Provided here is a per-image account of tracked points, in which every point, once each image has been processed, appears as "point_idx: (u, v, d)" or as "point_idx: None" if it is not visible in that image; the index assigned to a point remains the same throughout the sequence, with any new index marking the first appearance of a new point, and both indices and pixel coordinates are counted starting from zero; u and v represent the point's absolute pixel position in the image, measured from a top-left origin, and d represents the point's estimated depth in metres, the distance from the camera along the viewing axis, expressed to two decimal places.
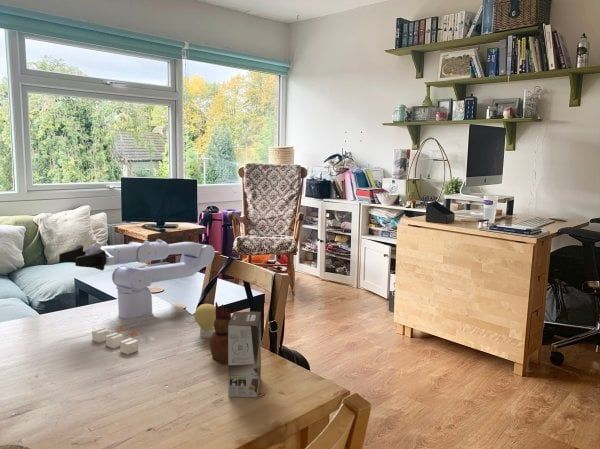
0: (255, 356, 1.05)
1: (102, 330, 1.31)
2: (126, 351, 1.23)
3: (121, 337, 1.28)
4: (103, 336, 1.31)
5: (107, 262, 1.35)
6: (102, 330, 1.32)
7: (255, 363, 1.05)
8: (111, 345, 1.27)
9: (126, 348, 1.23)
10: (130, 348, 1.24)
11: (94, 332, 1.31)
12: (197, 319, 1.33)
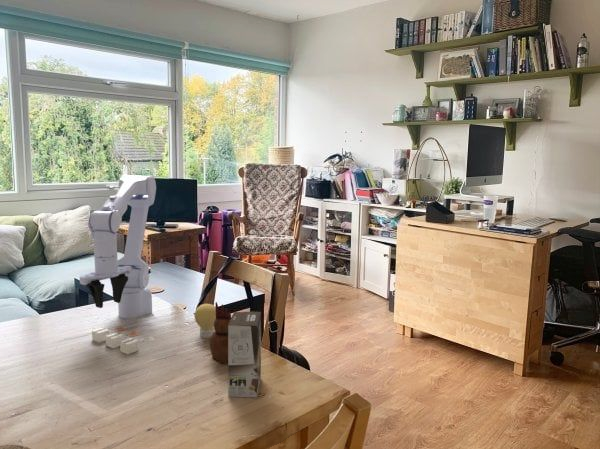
0: (255, 356, 1.05)
1: (102, 330, 1.31)
2: (126, 351, 1.23)
3: (121, 337, 1.28)
4: (103, 336, 1.31)
5: None
6: (102, 330, 1.32)
7: (255, 363, 1.05)
8: (111, 345, 1.27)
9: (126, 348, 1.23)
10: (130, 348, 1.24)
11: (94, 332, 1.31)
12: (197, 319, 1.33)
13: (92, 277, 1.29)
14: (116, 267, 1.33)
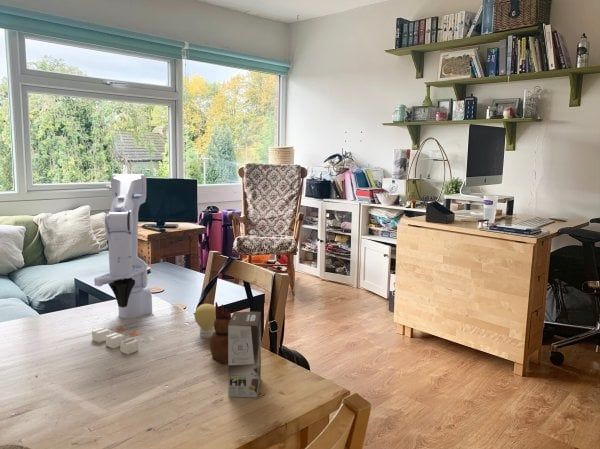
0: (255, 356, 1.05)
1: (102, 330, 1.31)
2: (126, 351, 1.23)
3: (121, 337, 1.28)
4: (103, 336, 1.31)
5: None
6: (102, 330, 1.32)
7: (255, 363, 1.05)
8: (111, 345, 1.27)
9: (126, 348, 1.23)
10: (130, 348, 1.24)
11: (94, 332, 1.31)
12: (197, 319, 1.33)
13: (107, 278, 1.27)
14: (131, 268, 1.31)
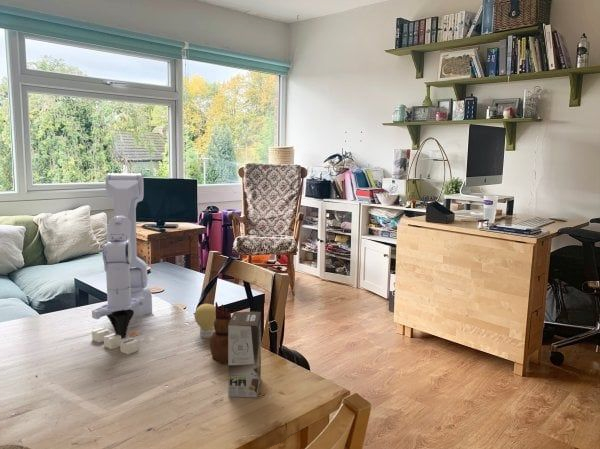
0: (255, 356, 1.05)
1: (102, 330, 1.31)
2: (126, 351, 1.23)
3: (119, 338, 1.28)
4: (103, 336, 1.31)
5: None
6: (102, 330, 1.32)
7: (255, 363, 1.05)
8: (109, 346, 1.26)
9: (126, 348, 1.23)
10: (130, 348, 1.24)
11: (94, 332, 1.31)
12: (197, 319, 1.33)
13: (105, 311, 1.24)
14: (129, 299, 1.28)
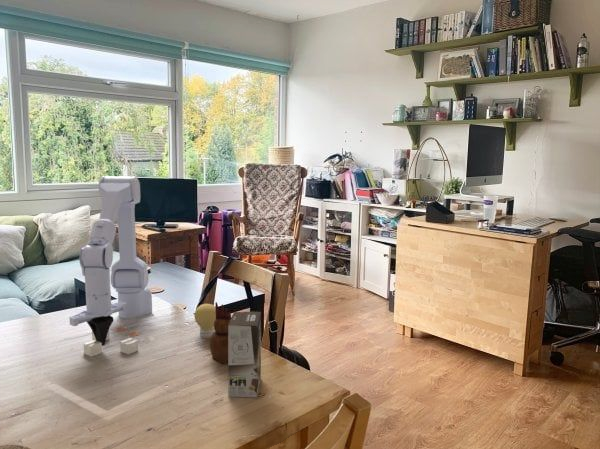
0: (255, 356, 1.05)
1: None
2: (126, 351, 1.23)
3: (100, 345, 1.23)
4: None
5: None
6: None
7: (255, 363, 1.05)
8: (89, 353, 1.22)
9: (126, 348, 1.23)
10: (130, 348, 1.24)
11: None
12: (197, 319, 1.33)
13: (83, 317, 1.19)
14: (109, 305, 1.23)
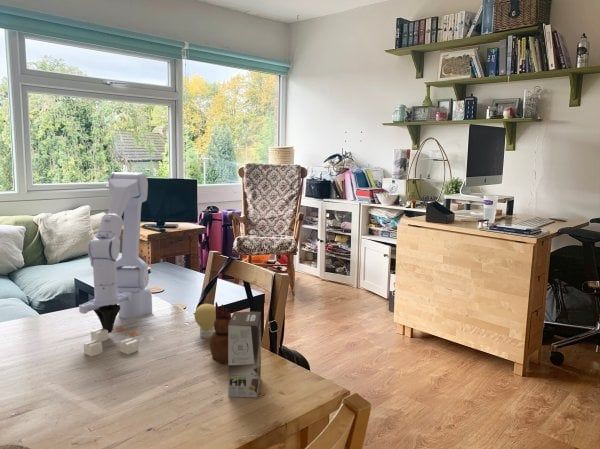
0: (255, 356, 1.05)
1: (101, 330, 1.31)
2: (126, 351, 1.23)
3: (100, 345, 1.23)
4: (102, 336, 1.30)
5: None
6: (101, 330, 1.31)
7: (255, 363, 1.05)
8: (89, 353, 1.22)
9: (126, 348, 1.23)
10: (130, 348, 1.24)
11: (93, 332, 1.30)
12: (197, 319, 1.33)
13: (92, 305, 1.27)
14: (116, 294, 1.31)
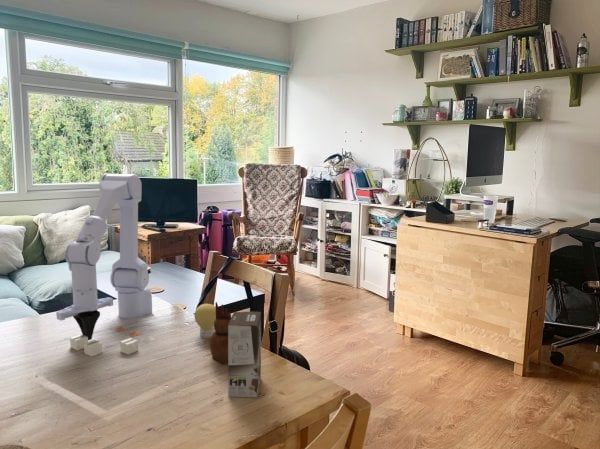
0: (255, 356, 1.05)
1: (81, 337, 1.26)
2: (126, 351, 1.23)
3: (100, 345, 1.23)
4: (81, 343, 1.26)
5: None
6: (80, 337, 1.27)
7: (255, 363, 1.05)
8: (89, 353, 1.22)
9: (126, 348, 1.23)
10: (130, 348, 1.24)
11: (72, 339, 1.26)
12: (197, 319, 1.33)
13: (70, 312, 1.22)
14: (95, 300, 1.27)
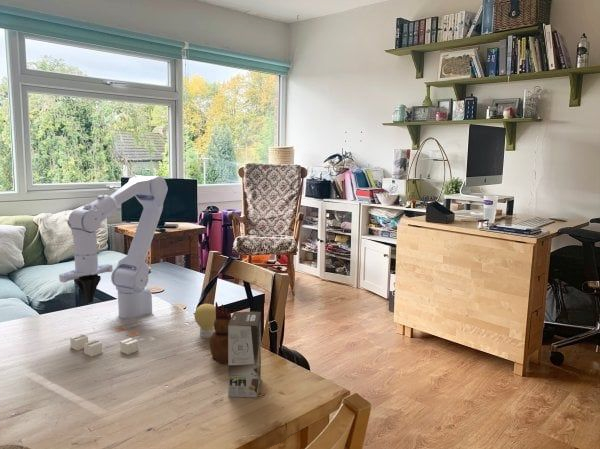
0: (255, 356, 1.05)
1: (81, 337, 1.26)
2: (126, 351, 1.23)
3: (100, 345, 1.23)
4: (81, 343, 1.26)
5: None
6: (80, 337, 1.27)
7: (255, 363, 1.05)
8: (89, 353, 1.22)
9: (126, 348, 1.23)
10: (130, 348, 1.24)
11: (72, 339, 1.26)
12: (197, 319, 1.33)
13: (72, 275, 1.30)
14: (96, 265, 1.35)
